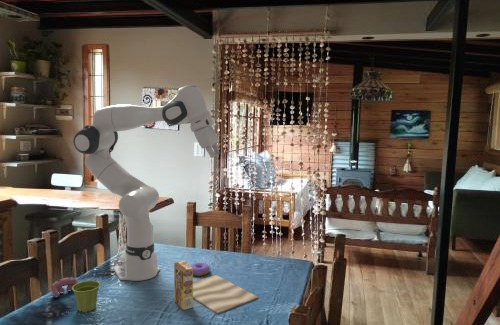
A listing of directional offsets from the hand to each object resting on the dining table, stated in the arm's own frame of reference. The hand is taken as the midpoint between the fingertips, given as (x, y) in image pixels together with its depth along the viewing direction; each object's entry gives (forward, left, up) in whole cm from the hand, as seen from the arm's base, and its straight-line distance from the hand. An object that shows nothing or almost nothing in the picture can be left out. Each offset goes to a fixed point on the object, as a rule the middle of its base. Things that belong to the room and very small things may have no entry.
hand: (215, 155), depth 154 cm
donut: (-17, +4, -55) cm, 58 cm away
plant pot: (-14, -47, -55) cm, 74 cm away
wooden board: (+5, -2, -55) cm, 55 cm away
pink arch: (-31, -49, -55) cm, 80 cm away
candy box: (+5, -18, -55) cm, 58 cm away
